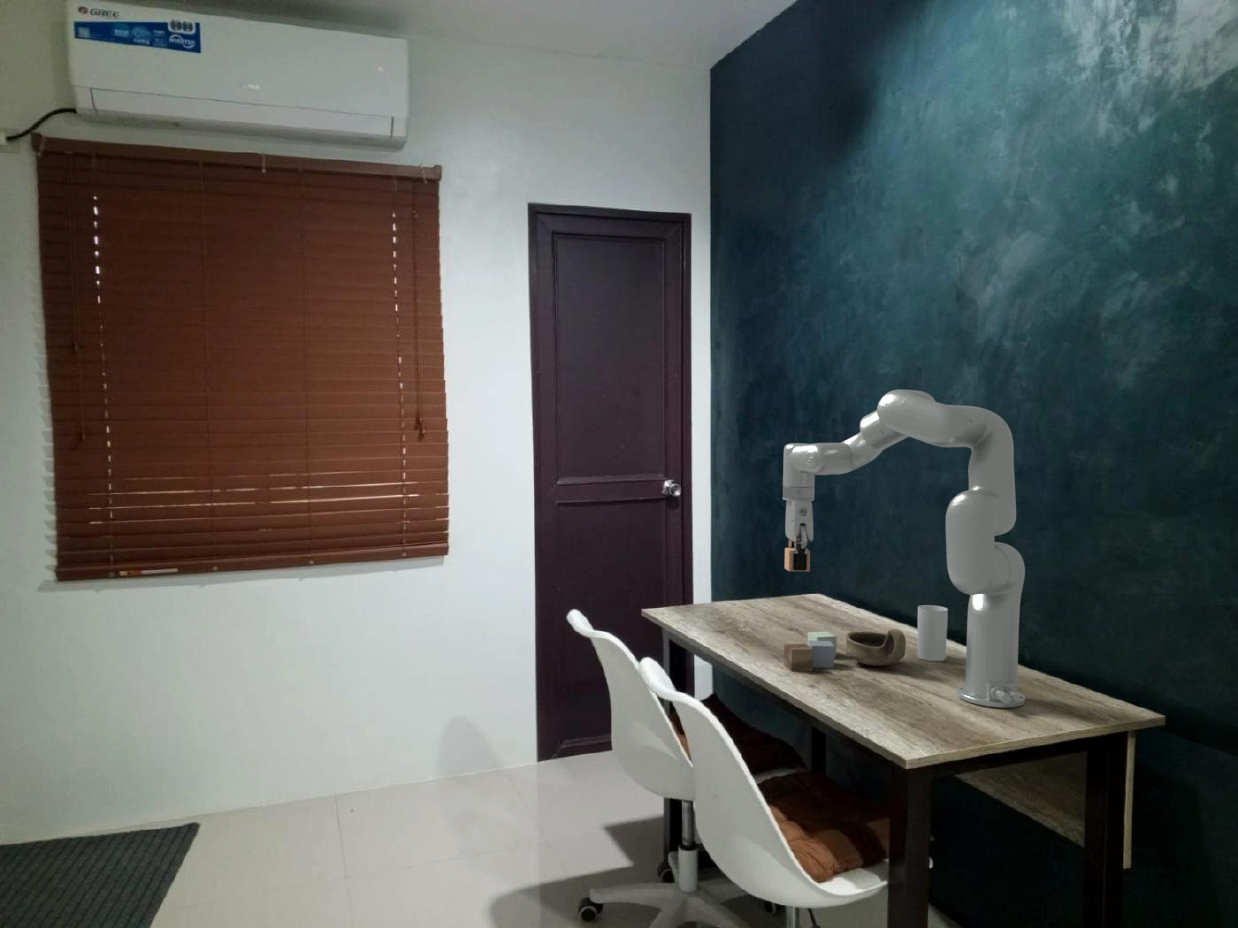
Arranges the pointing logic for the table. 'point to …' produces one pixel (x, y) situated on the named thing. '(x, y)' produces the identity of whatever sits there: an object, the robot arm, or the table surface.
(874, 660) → the bowl
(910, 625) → the table surface
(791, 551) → the terracotta cube
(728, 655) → the table surface
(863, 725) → the table surface
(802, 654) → the walnut cube
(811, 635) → the sage cube
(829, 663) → the slate cube
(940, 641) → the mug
